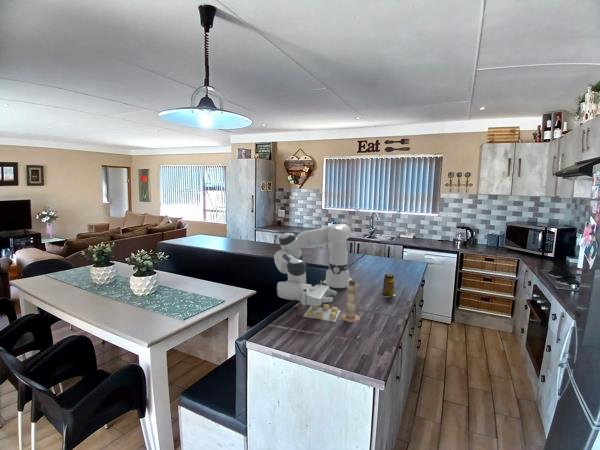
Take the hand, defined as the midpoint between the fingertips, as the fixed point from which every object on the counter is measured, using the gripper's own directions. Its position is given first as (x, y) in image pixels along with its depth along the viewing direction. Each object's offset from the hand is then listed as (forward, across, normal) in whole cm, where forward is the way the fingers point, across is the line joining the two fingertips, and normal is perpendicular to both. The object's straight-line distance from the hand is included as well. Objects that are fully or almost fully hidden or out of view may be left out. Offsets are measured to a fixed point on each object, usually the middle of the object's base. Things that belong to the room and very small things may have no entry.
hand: (334, 296), depth 152 cm
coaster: (+8, 0, -10) cm, 13 cm away
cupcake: (-10, -19, -10) cm, 24 cm away
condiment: (+24, -41, -10) cm, 48 cm away
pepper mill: (+8, 0, -9) cm, 12 cm away
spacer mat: (-6, 0, -10) cm, 12 cm away
